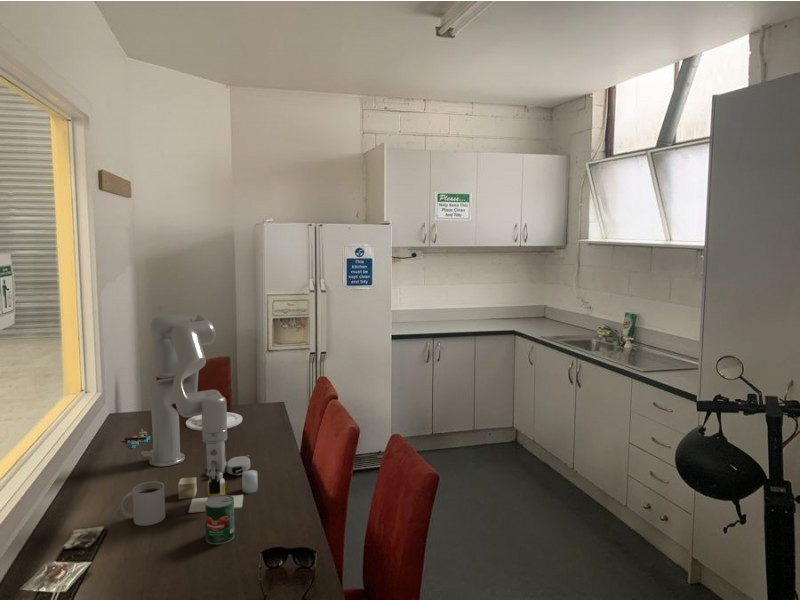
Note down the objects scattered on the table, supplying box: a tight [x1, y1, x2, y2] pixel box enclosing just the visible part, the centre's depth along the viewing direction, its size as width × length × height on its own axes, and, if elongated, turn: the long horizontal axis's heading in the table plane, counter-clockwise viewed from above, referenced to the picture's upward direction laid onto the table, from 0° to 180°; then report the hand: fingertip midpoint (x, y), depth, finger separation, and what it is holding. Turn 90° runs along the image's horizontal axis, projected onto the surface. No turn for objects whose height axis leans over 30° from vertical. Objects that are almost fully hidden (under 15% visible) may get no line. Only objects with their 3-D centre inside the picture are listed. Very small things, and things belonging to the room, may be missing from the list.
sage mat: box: [188, 494, 244, 514], centre depth 189 cm, size 16×9×1 cm, turn 102°
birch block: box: [177, 476, 198, 500], centre depth 195 cm, size 5×5×5 cm
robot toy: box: [205, 454, 252, 477], centre depth 214 cm, size 12×4×15 cm
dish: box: [185, 411, 243, 432], centre depth 272 cm, size 25×25×11 cm
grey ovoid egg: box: [241, 469, 259, 494], centre depth 199 cm, size 5×5×6 cm
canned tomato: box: [204, 494, 236, 545], centre depth 168 cm, size 8×8×11 cm
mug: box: [120, 481, 166, 527], centre depth 178 cm, size 11×10×10 cm
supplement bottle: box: [207, 472, 226, 498], centre depth 189 cm, size 5×5×10 cm
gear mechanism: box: [124, 428, 151, 449], centre depth 247 cm, size 20×5×9 cm
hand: (216, 486), depth 188 cm, fingers open, 9 cm apart
